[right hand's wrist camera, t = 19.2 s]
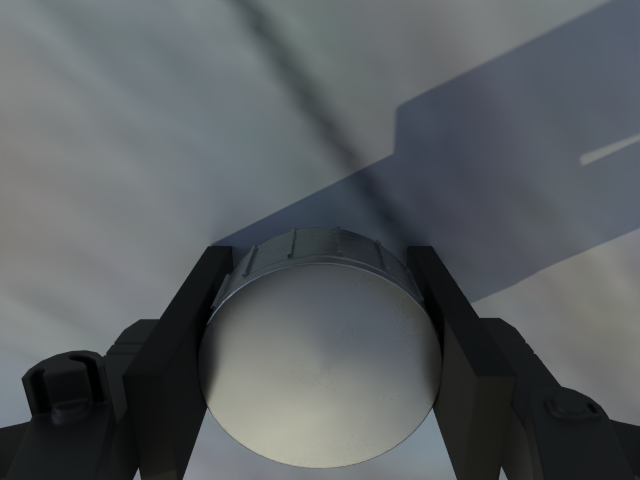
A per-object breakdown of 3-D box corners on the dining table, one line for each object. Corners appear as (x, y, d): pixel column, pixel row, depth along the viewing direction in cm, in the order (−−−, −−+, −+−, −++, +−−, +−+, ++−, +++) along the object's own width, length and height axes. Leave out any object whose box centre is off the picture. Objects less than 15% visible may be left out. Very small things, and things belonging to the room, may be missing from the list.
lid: (375, 189, 11) (390, 218, 9) (450, 363, 13) (477, 424, 11) (179, 276, 12) (146, 322, 10) (274, 429, 14) (265, 497, 12)
